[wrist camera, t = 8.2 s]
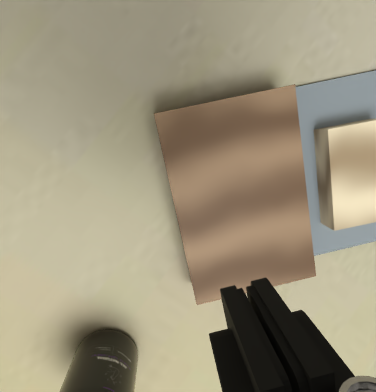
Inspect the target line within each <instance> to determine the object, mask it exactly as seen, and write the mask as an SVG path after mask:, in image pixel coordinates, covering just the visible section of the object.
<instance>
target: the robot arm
mask: <svg viewBox="0 0 376 392" xmlns="http://www.w3.org/2000/svg"><path fill="white" fill-rule="evenodd" d="M246 291H247V296H246V294H245V292H244V290H243V289H242V288H239V289H237V288H236V286H235V285H233V286H229V287H225V288H221V289H220V293H221V298H222V303H223V308H224V312H225V317H226V322H227V327H228V329H225V330H221V331H217V332H213V333H209V336H210V341H211V345H212V350H213V354H214V358H215V362H216V367H217V371H218V375H219V379H220V383H221V388H222V392H376V378H374V377H370V376H356V377H355V376H354V374H353V373H352V372H351V371H350V369H349V368H348V367H347V366H346V364H345V363H344V362H343V360H342V359H341V358H340V357H339V355H338V354H337V353H336V352H335V350H334V349H333V348H332V346H331V345H330V344H329V343H328V341H327V340H326V339H325V338H324V336H323V335H322V334H321V332H320V331H319V330H318V329H317V327H316V326H315V325H314V323H313V322H312V321H311V320H310V318H309V317H308V316H307V315H306V313H305V312H304V311H302V310H299V311H295V312H291V311H290V310H289V308H288V307H287V305H286V304H285V303H284V301H283V300H282V298H281V297H280V296H279V294H278V293H277V291H276V290H275V289H274V287H273V286H272V284H271V283H270V282H269V280H268V279H267V278H266V277H265V278H261V279H257V280H253V281H251V286H247V287H246ZM247 297H248V298H247Z"/></svg>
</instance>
